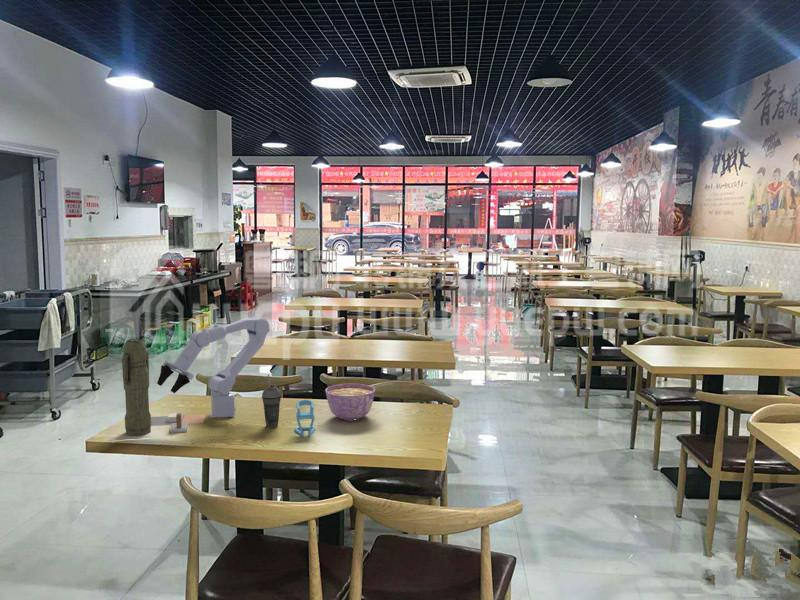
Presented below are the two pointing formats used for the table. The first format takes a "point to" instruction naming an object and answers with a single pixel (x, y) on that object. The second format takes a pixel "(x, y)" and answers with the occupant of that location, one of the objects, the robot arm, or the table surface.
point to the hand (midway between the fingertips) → (165, 388)
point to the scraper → (179, 425)
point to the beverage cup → (271, 405)
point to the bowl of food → (350, 400)
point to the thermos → (136, 387)
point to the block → (172, 417)
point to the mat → (185, 418)
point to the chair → (305, 417)
